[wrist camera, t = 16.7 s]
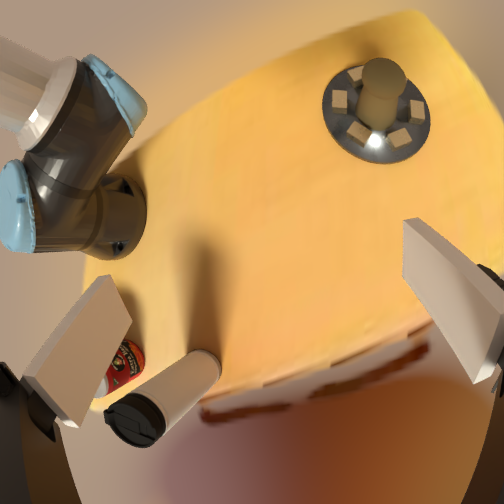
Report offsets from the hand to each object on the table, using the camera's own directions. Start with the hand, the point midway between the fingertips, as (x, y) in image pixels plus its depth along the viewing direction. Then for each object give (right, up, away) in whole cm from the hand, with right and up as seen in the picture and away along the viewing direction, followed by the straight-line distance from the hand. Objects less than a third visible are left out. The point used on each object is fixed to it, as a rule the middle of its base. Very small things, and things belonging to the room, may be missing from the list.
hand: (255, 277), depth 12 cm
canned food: (-22, -18, +36) cm, 46 cm away
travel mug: (-8, -17, +32) cm, 37 cm away
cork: (+17, +20, +23) cm, 35 cm away
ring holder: (+18, +21, +24) cm, 36 cm away
